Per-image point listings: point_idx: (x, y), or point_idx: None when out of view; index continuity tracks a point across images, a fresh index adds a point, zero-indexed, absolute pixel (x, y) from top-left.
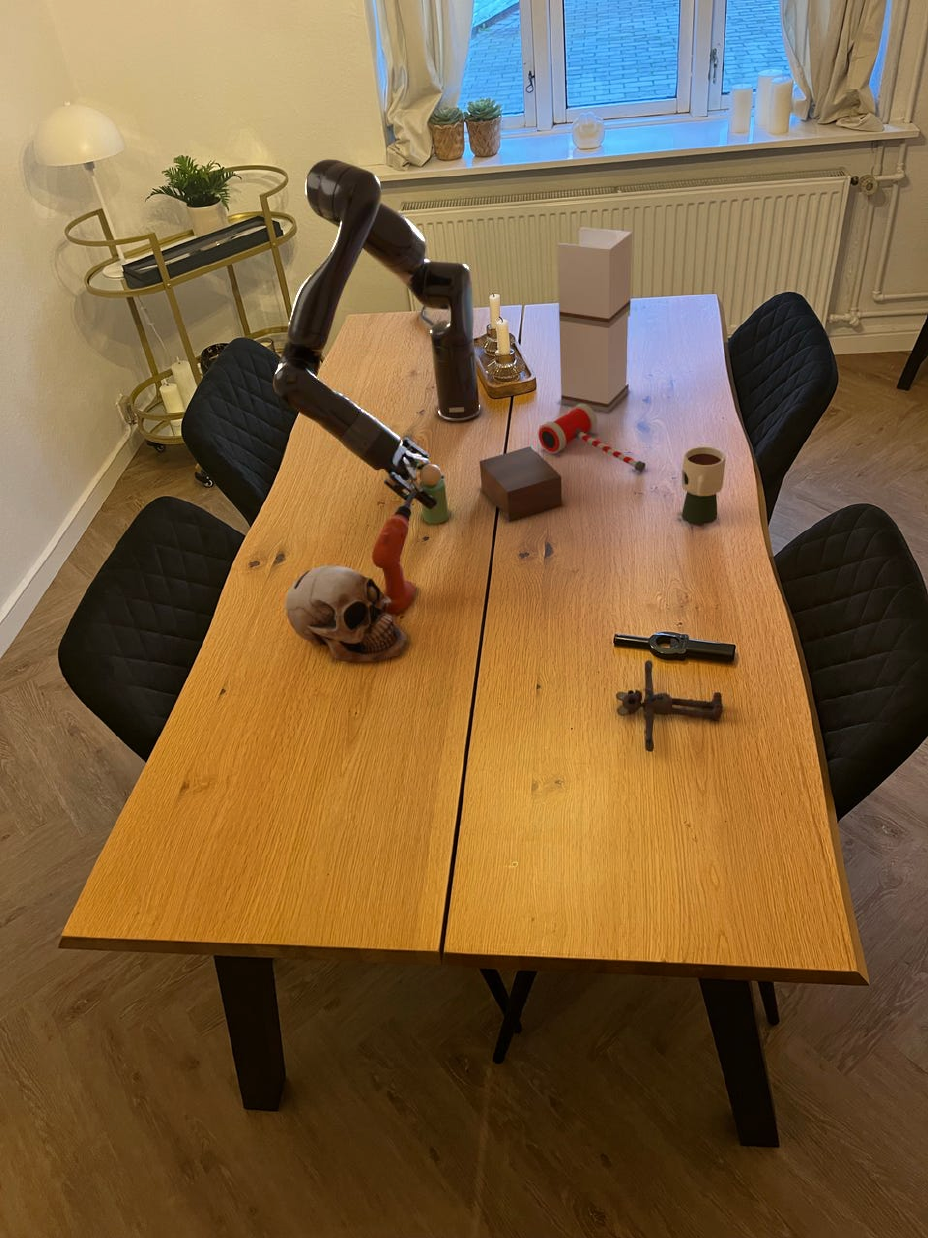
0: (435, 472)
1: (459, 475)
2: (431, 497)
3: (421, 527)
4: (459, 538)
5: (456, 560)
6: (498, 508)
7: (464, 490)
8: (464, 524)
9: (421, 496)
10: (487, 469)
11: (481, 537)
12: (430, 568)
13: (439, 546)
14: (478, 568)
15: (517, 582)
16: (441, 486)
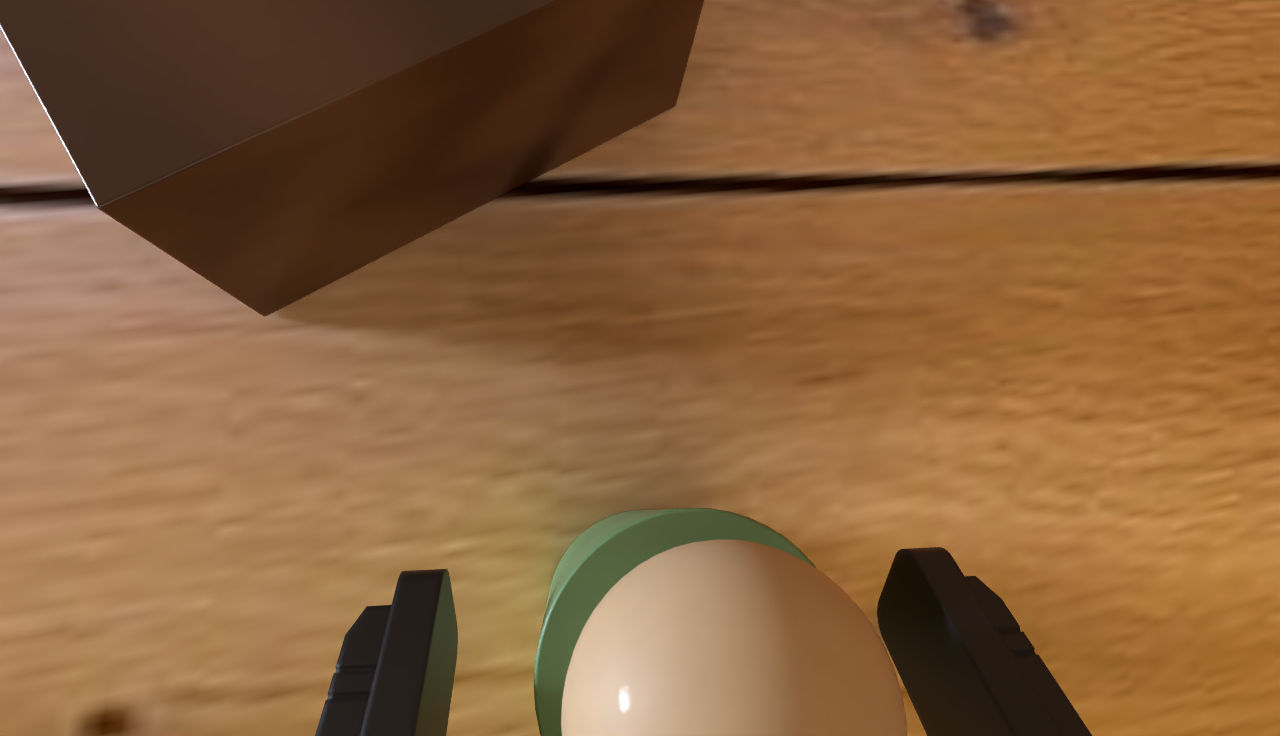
0: (843, 614)
1: (5, 534)
2: (976, 609)
3: None
4: (879, 389)
5: (1096, 372)
6: (531, 178)
7: (263, 451)
8: (721, 381)
9: (1081, 731)
10: (303, 111)
11: (853, 254)
12: (1201, 519)
13: (980, 507)
14: (1140, 237)
15: (1203, 39)
16: (759, 532)
